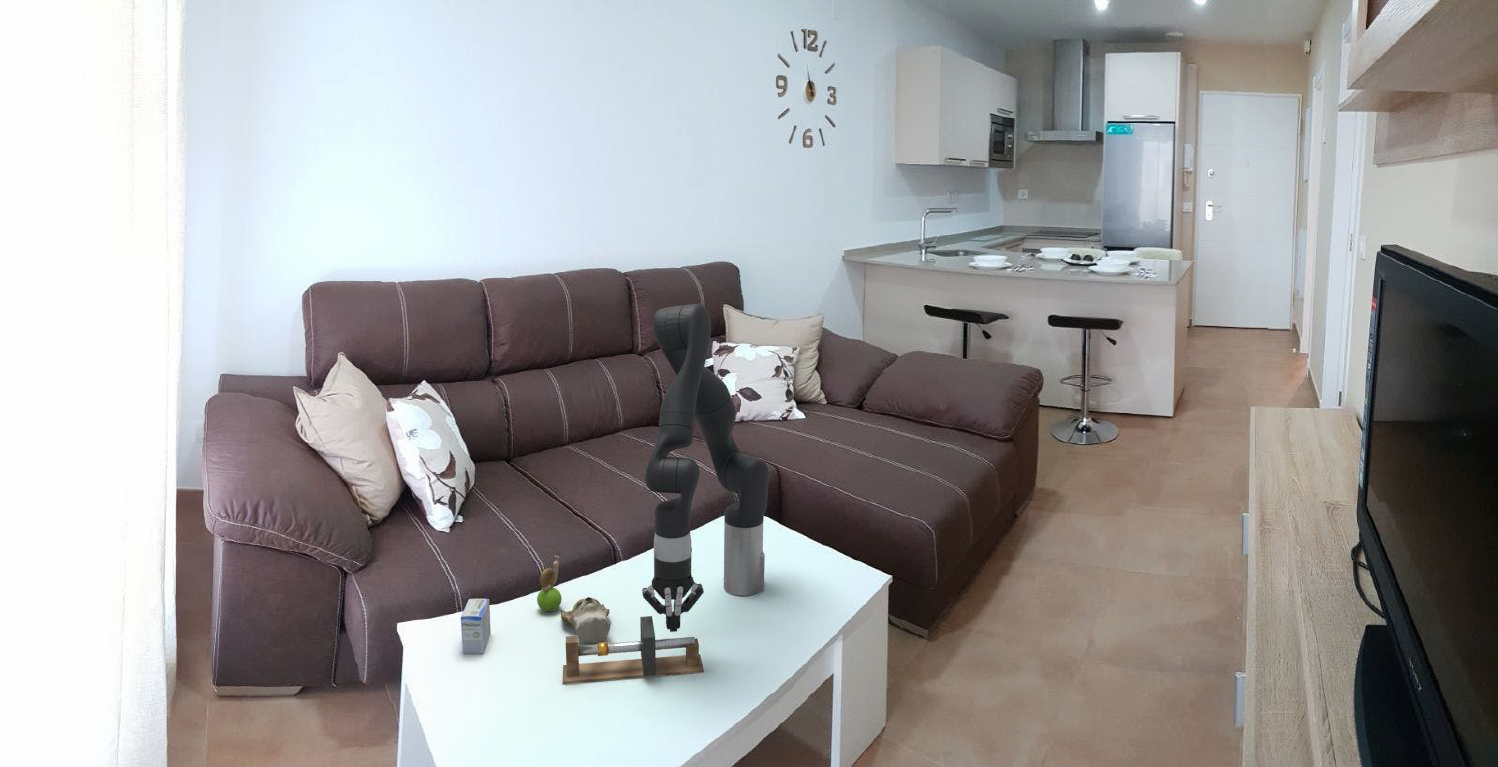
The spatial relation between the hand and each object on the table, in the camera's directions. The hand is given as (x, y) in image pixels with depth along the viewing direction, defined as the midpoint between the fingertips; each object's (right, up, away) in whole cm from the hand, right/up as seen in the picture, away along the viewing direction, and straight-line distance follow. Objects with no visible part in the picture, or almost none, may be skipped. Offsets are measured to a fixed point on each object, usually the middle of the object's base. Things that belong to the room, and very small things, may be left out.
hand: (673, 629), depth 193 cm
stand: (-8, -7, -3) cm, 11 cm away
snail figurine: (-29, -1, +21) cm, 36 cm away
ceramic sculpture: (-19, -4, +12) cm, 23 cm away
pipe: (-8, -4, -4) cm, 9 cm away
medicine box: (-42, -5, +6) cm, 43 cm away
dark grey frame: (-5, -6, -3) cm, 8 cm away
